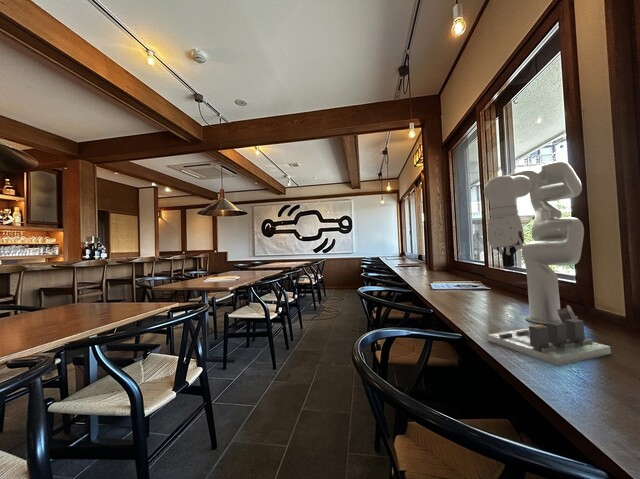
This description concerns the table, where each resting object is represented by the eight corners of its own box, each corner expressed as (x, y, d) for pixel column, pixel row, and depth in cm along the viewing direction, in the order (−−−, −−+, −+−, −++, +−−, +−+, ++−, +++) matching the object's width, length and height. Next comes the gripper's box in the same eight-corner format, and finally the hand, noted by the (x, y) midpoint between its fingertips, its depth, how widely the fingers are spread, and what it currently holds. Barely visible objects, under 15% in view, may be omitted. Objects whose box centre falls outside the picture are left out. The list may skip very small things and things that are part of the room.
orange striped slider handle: (539, 343, 79) (538, 323, 80) (549, 346, 77) (547, 326, 77) (530, 345, 79) (528, 325, 79) (539, 348, 76) (538, 327, 76)
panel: (534, 332, 96) (533, 324, 96) (610, 353, 76) (609, 342, 76) (488, 340, 91) (487, 331, 91) (557, 365, 71) (556, 353, 71)
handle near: (574, 337, 83) (573, 318, 83) (584, 339, 81) (583, 320, 81) (566, 338, 82) (564, 320, 82) (576, 341, 80) (574, 322, 80)
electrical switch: (585, 340, 87) (578, 310, 88) (563, 339, 90) (557, 310, 91) (581, 332, 94) (575, 305, 95) (562, 331, 97) (556, 305, 98)
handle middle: (557, 340, 81) (555, 321, 81) (567, 343, 79) (565, 323, 79) (548, 342, 80) (547, 322, 81) (558, 344, 78) (556, 325, 78)
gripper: (476, 216, 100) (481, 266, 100) (516, 210, 86) (522, 269, 86) (492, 214, 102) (497, 263, 102) (534, 209, 88) (539, 266, 88)
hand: (508, 266), depth 94 cm, fingers closed
